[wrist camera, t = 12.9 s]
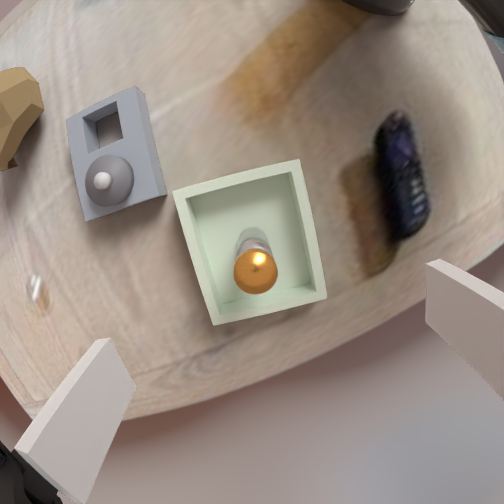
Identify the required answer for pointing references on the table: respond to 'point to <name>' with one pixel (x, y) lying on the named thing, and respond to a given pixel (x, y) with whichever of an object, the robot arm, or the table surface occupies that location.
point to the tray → (245, 216)
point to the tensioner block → (115, 156)
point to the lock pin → (254, 262)
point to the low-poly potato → (16, 111)
